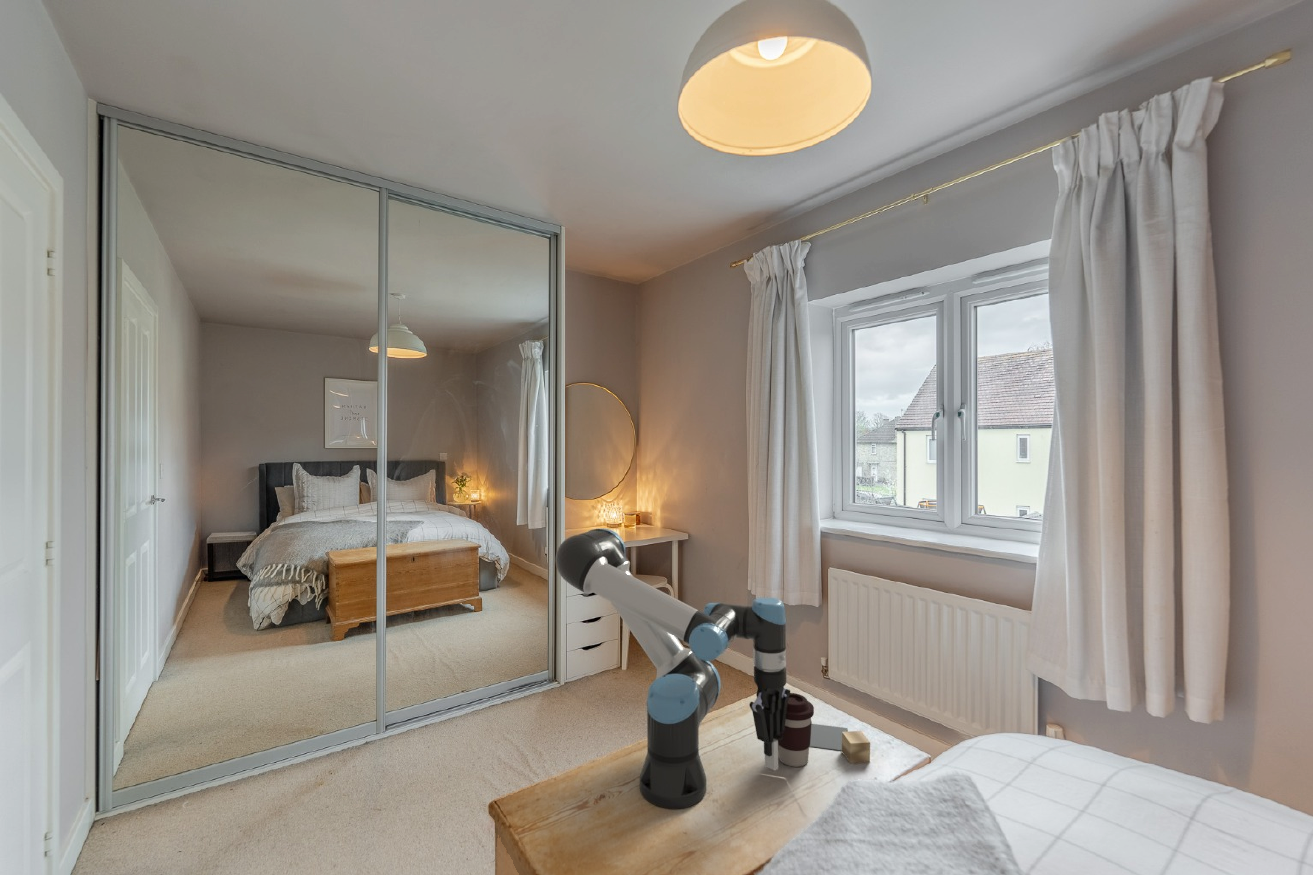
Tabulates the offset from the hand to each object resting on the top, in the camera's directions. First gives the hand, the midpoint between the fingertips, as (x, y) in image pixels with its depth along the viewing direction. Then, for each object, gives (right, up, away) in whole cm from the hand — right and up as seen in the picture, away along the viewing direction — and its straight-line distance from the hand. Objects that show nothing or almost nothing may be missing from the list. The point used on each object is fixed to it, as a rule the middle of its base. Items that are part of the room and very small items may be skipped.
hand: (771, 766), depth 133 cm
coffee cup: (+7, -2, +7) cm, 10 cm away
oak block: (+23, -2, +8) cm, 24 cm away
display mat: (+18, -2, +18) cm, 25 cm away
